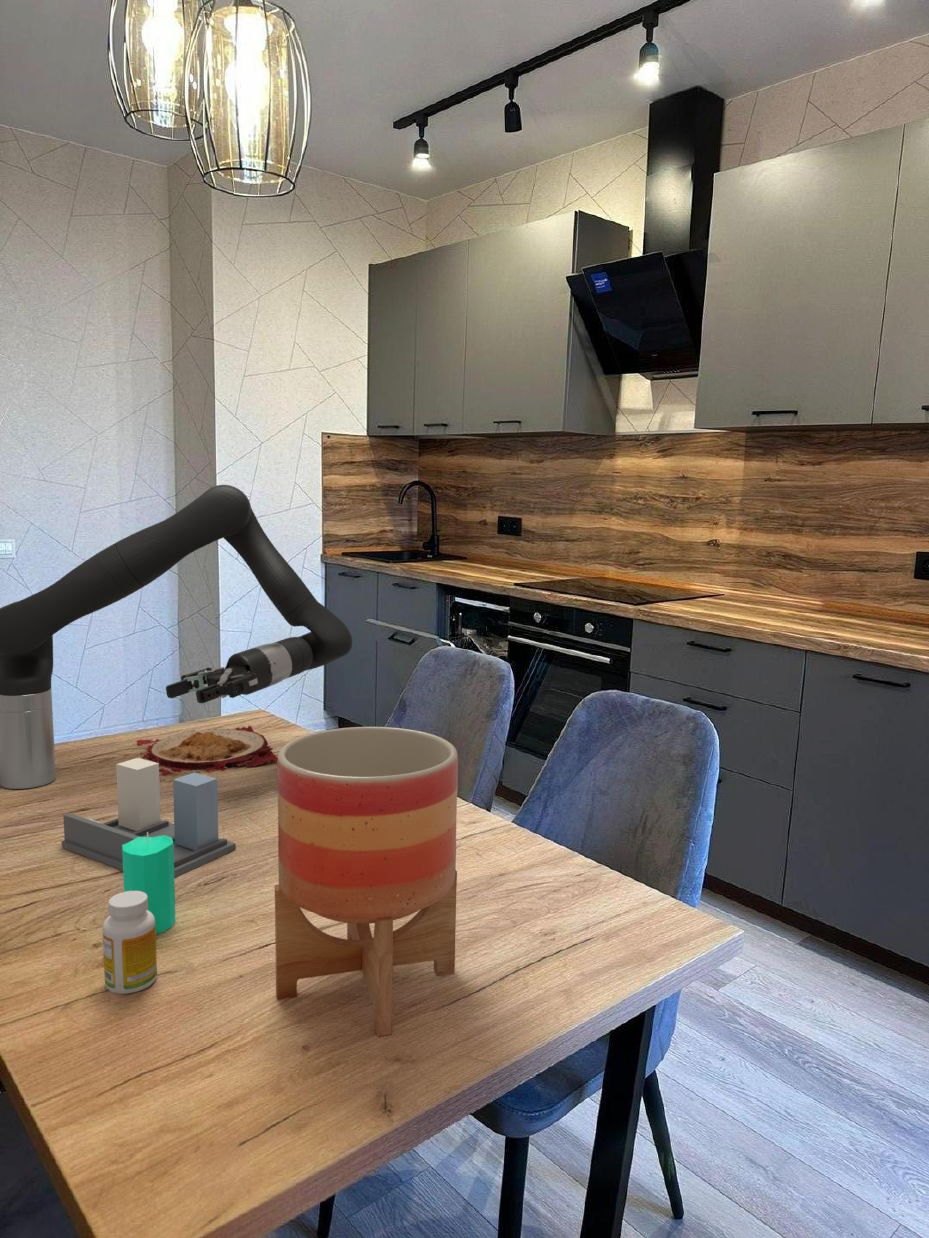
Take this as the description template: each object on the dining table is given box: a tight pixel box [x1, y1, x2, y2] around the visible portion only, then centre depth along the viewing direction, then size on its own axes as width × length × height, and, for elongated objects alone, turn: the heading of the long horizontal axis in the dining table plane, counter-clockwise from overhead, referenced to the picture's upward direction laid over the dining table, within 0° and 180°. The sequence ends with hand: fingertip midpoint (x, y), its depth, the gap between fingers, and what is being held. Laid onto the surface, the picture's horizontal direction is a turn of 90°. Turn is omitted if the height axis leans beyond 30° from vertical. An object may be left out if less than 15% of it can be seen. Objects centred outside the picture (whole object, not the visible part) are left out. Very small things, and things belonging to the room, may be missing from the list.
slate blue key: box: [172, 772, 219, 850], centre depth 128 cm, size 5×4×10 cm
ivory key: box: [115, 757, 162, 831], centre depth 135 cm, size 5×4×10 cm
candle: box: [122, 832, 176, 935], centre depth 106 cm, size 6×6×12 cm
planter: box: [274, 726, 459, 1038], centre depth 93 cm, size 20×20×27 cm
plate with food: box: [136, 725, 278, 776], centre depth 177 cm, size 25×26×4 cm
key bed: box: [61, 812, 236, 878], centre depth 129 cm, size 22×14×5 cm, turn 59°
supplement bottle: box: [102, 891, 158, 995], centre depth 94 cm, size 5×5×10 cm
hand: (182, 695), depth 140 cm, fingers open, 8 cm apart
